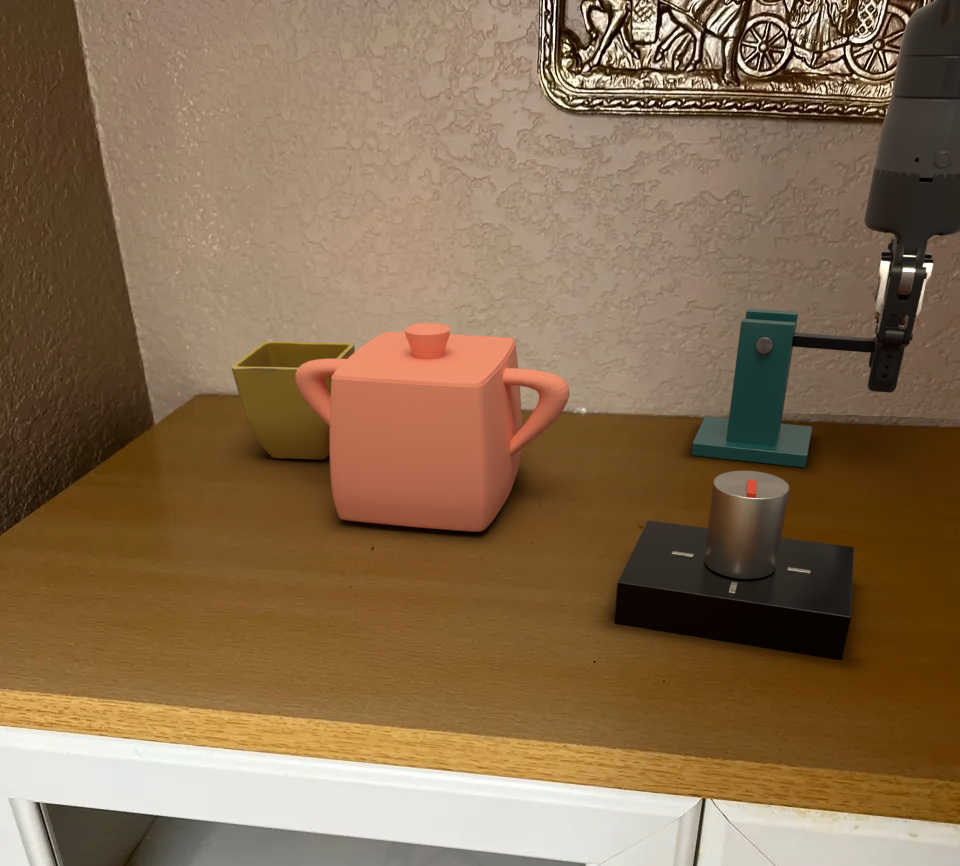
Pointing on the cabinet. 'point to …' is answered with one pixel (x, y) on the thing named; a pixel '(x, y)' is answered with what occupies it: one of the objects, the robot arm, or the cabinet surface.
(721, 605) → the dial panel
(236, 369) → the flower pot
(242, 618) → the cabinet surface
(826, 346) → the lever
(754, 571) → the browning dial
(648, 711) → the cabinet surface
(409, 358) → the sugar bowl
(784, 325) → the lever bracket
